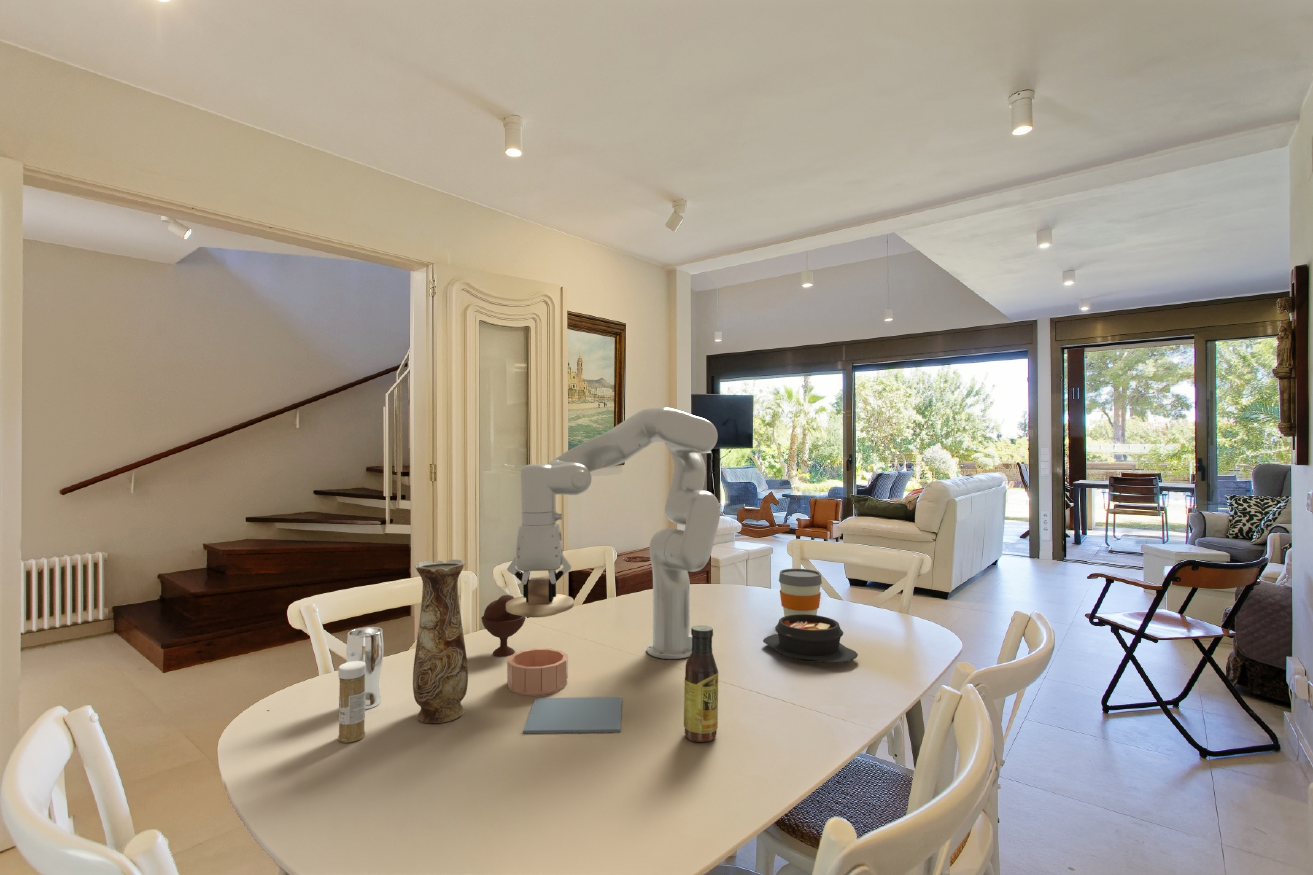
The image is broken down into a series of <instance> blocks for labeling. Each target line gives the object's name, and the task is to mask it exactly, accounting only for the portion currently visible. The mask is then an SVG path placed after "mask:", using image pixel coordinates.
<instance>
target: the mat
mask: <svg viewBox="0 0 1313 875" xmlns="http://www.w3.org/2000/svg"><path fill="white" fill-rule="evenodd" d="M622 702H623V696H601V697H599V696H597V697H596V696H594V697H593V696H592V697H591V696H589V697H587V696H585V697H582V696H581V697H580V696H579V697H578V696H577V697H575V696H574V697H536V698H535V700H534V702H533V705H532V706H531V707H532V708H531V709H530V712H529V715H528V717H527V720H526V722H525V726H524V727H523V731H522V733H523V734H550V733H551V734H556V733H557V734H559V733H561V734H563V733H567V734H568V733H571V734H572V733H575V734H576V733H621V723H622V722H621V720H622Z"/></svg>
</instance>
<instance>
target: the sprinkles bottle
mask: <svg viewBox="0 0 1313 875" xmlns="http://www.w3.org/2000/svg"><path fill="white" fill-rule="evenodd" d="M337 672H338V674H337V675H338V679H339V693H338V694H339V696H338V722H339V724H338V736H337V737H338V738H337V739H338V741H339V742H341V743H347V744H348V743H349V744H350V743H354V742H356V741H360V740H361V739H363V738H364V737H365V736H366V731H365V719H366V710H365V673H366V664H365V662H362V661H352V662H347V661H346V662H345V663H342V664H340V665H339V666H338V671H337Z"/></svg>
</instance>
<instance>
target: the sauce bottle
mask: <svg viewBox="0 0 1313 875" xmlns="http://www.w3.org/2000/svg"><path fill="white" fill-rule="evenodd" d="M690 632H691V635H692V653H691V655H690V656H689V657H687V659H686V662H685V672H684V687H683V688H684V689H683V690H684V696H683V698H684V700H683V703H684V704H683V727H684V736H685V738H686V739H687V740H690V741H692V742H696V743H707V742H711V741H714V740H715V739H716V737H717V732H718V729H719V727H718V726H719V725H718V724H719V721H718V720H719V718H718V717H719V714H718V713H719V669H718V666H717V664H716V660H715V656H714V653H713V637H714V630H713V627H712V626H709V625H701V624H700V625H699V624H698V625H693V626H692V627H691V629H690Z"/></svg>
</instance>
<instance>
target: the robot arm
mask: <svg viewBox="0 0 1313 875" xmlns="http://www.w3.org/2000/svg"><path fill="white" fill-rule="evenodd" d="M718 434H719V433H718V430H717V428H716V426H715V425H714V423H712V421H709V420H707V419H706V418H703V417H700V416H696V415H693V414H691V413H688V412H685V411H681V410H679V409H676V408H672V407H665V406H664V407H662V406H661V407H648V408H644V409H642V410H640V411H638V412H636V413H634V414H632V415H631V416H629V417H628V418H627V419H625V420H624V421H622V422H620V423H618V424H617V425H616V426H614V427H613V428H611V429H609V430H607V431H605V432H603V433H602V434H600V435H598V436H596V437H593V438H592V439H589V440H587V441H584V442H583V443H581V444H579V445H576V446H574V447H572V448H571V449H569V450H567V451H565V452H563V453H562V454H561V455H559V456H556V457H555V458H554V459H552V460H551V461H549V462H548V463H534V464H533V463H532V464H530V463H529V464H526V465H524V466H522V468H521V470H520V487H521V488H520V490H521V491H520V492H521V494H520V496H521V497H520V498H521V499H520V500H521V524H520V525H519V526H518V530H517V537H516V547H515V556H514V558H513V560H512V561H511V562H510V564H509V565H508V567H507V568H506V570H507V572H508V573H510V574H511V575H513V576H514V577H515V578H516V579H517V580H518V581H519V582H521V585H522V588H523V590H522V591H523V592H522V594H523V595H522V596H523V597H524V598H526V602H528V582H529V580H530V576H531V572H536V571H537V572H538V571H539V572H540V571H541V572H542V571H545V572H548V577H550V583H549V601H550V602H552V601H553V599H554V597H556V594H557V582H558V581H559V580H560V579H561V577H563V576H564V575H565V574H566V573H568V572H569V571H571V569H572V565H571V564H570V562H569V561H568V559H567V558H566V557H565V555H564V553H563V549H564V548H563V539H562V531H561V527H560V526H561V525H560V524H559V523H557V521H560V520H562V519H563V513H559V512H557V510H556V495H563V496H577V495H578V496H579V495H581V494H583V493H585V492H587V490H588V489H589V488H590V486H591V483H592V474H591V473H592V472H595V471H597V470H601V469H606V468H610V467H615V466H618V465H621V464H624V463H625V462H627V461H628V460H630V459H631V458H632V457H634V456H635V455H637V454H639V453H640V452H641V451H643V450H644V449H645V448H647V447H649V446H650V445H651V444H654V443H657V442H658V443H659V442H660V443H661V442H662V443H664V445H665V446H666V449H667V450H668V452H669V454H670V455H671V457H672V461H673V474H672V478H671V482H670V487H669V489H668V493H667V498H666V502H665V505H664V514H665V517H666V518H667V520H668V521H669V522H672V523H673V524H675V525H681V526H684V530H683V529H677V528H672V527H671V528H670V527H668V528H662V529H659V530H657V531H656V532H655V533H654V534H653V535H652V537H651V540H649V541H650V542H649V559H650V563H651V564H650V565H651V571H652V641H651V642H650V643H648V645H647V646H646V652H647V654H648V655H650V656H651V657H655V658H658V659H659V658H660V659H667V660H679V659H685V658H689V656H690V655H691V653H692V635H691V629H690V627H691V626H690V620H691V619H690V618H691V617H690V616H691V615H690V613H691V612H690V606H691V604H690V603H691V602H690V601H691V597H690V596H691V592H690V591H691V588H690V587H691V584H690V583H691V582H690V576H689V572H692V573H693V572H694V573H695V572H698V571H701V570H702V569H704V568H705V566H706V565H707V563H708V562H709V560H710V557H711V555H712V551H713V547H714V543H715V539H716V536H717V535H716V534H717V532H718V527H719V523H720V518H721V506H720V502H719V500H718V498H717V497H716V496H715V495H714V494H713V493H712V492H710V491H708V490H704V487H705V486H704V485H705V481H706V475H707V468H706V463H705V461H704V460H705V459H704V457H703V455H702V454H705V453H708V452H710V451H712V450H713V449H714V447H715V446H716V444H717V442H718V436H719V435H718ZM561 566H562V568H561ZM560 568H561V569H560ZM557 570H558V572H557ZM522 571H523V572H522Z"/></svg>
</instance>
